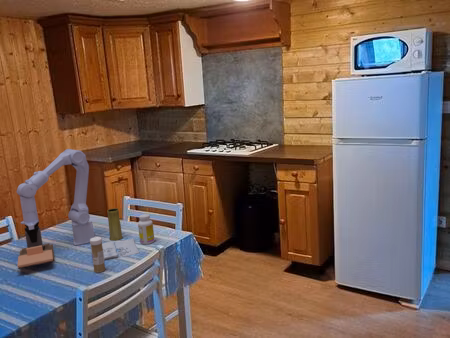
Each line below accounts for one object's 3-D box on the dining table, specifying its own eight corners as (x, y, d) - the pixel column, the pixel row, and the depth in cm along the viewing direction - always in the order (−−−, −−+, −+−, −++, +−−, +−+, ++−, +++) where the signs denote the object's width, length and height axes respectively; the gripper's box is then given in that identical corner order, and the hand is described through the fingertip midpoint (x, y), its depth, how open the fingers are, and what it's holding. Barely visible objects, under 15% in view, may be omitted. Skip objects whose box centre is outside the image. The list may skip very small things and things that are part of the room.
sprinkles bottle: (91, 271, 168) (87, 239, 165) (101, 267, 171) (97, 235, 169) (98, 274, 165) (93, 241, 162) (108, 269, 168) (104, 237, 166)
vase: (125, 236, 204) (121, 208, 201) (118, 241, 199) (114, 212, 196) (114, 235, 206) (110, 207, 203) (107, 240, 201) (103, 211, 198)
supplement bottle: (156, 239, 198) (153, 213, 196) (152, 244, 192) (149, 217, 189) (142, 239, 199) (139, 213, 196) (138, 245, 193) (135, 218, 190)
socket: (53, 245, 198) (52, 239, 197) (54, 261, 180) (53, 253, 179) (20, 252, 193) (19, 245, 192) (18, 268, 175) (17, 261, 174)
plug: (42, 244, 189) (40, 227, 187) (42, 247, 185) (40, 230, 183) (28, 247, 186) (25, 230, 185) (27, 250, 183) (25, 233, 181)
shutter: (52, 251, 181) (50, 243, 181) (53, 260, 172) (51, 252, 171) (18, 257, 176) (17, 249, 176) (17, 267, 167) (16, 259, 166)
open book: (90, 248, 194) (90, 243, 193) (135, 240, 200) (135, 236, 200) (92, 264, 176) (91, 259, 176) (141, 255, 182) (140, 250, 182)
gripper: (19, 208, 187) (24, 237, 190) (18, 216, 174) (23, 247, 177) (37, 205, 190) (41, 234, 193) (37, 213, 177) (42, 244, 180)
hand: (34, 240), depth 185 cm, fingers closed on plug, 4 cm apart
